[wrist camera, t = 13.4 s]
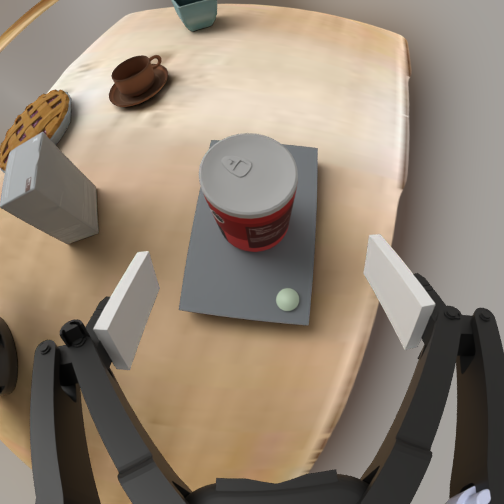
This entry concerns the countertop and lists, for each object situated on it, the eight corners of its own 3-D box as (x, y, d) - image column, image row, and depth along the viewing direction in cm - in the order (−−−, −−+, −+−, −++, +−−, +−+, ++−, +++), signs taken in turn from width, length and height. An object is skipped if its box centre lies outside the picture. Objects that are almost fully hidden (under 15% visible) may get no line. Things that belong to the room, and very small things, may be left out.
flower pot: (222, 27, 48) (218, -4, 40) (185, 37, 48) (177, 7, 39) (211, 15, 50) (206, -12, 42) (177, 25, 50) (170, -2, 41)
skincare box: (67, 200, 38) (6, 151, 22) (102, 185, 38) (43, 125, 23) (67, 248, 36) (-7, 209, 20) (103, 234, 36) (31, 185, 20)
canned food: (230, 184, 33) (216, 125, 23) (295, 200, 32) (307, 144, 22) (209, 243, 31) (182, 201, 21) (279, 262, 30) (286, 227, 20)
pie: (93, 113, 43) (82, 98, 38) (21, 199, 39) (5, 188, 34) (58, 90, 47) (49, 78, 42) (0, 157, 43) (-12, 148, 39)
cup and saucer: (136, 69, 46) (127, 48, 40) (182, 73, 44) (174, 49, 38) (101, 108, 43) (88, 88, 37) (145, 116, 41) (133, 92, 35)
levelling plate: (186, 311, 32) (177, 309, 29) (214, 152, 38) (210, 138, 35) (304, 325, 31) (309, 325, 28) (314, 160, 37) (317, 146, 34)
